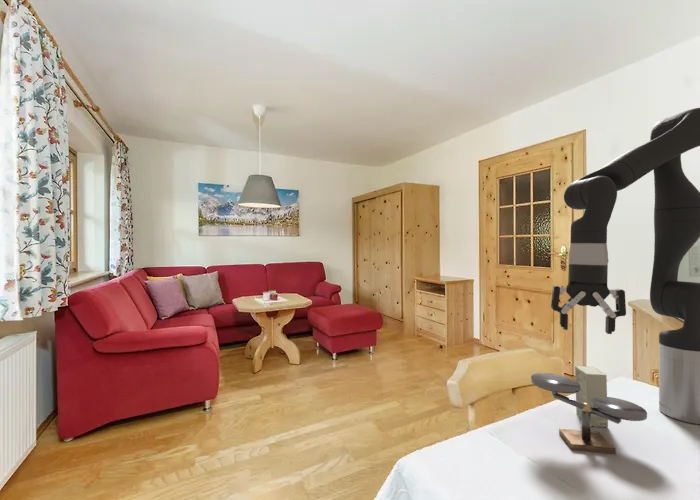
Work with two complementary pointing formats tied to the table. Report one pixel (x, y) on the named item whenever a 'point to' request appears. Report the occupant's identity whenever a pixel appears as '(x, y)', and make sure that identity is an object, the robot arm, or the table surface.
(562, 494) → the table surface
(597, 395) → the skincare box
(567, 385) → the balance
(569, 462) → the table surface
